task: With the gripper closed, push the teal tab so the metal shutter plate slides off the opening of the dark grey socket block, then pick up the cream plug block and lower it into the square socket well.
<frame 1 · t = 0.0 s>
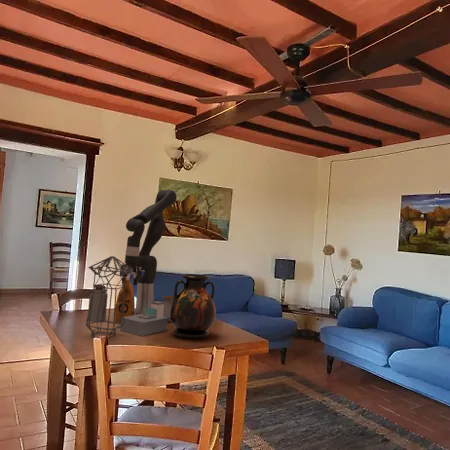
hand: (129, 284, 223), 17 cm above the table, tool pointing down, fingers open, 8 cm apart
socket: (145, 329, 192), on the table
geometric lantern: (105, 336, 176), on the table
coffee pot: (176, 321, 218), on the table
coffee package: (123, 321, 207), on the table
amphora vase: (191, 335, 187), on the table
plug: (156, 323, 207), on the table
perfume bottle: (96, 320, 204), on the table
shutter: (147, 312, 192), point 8 cm above the table, slide at 0.0 cm
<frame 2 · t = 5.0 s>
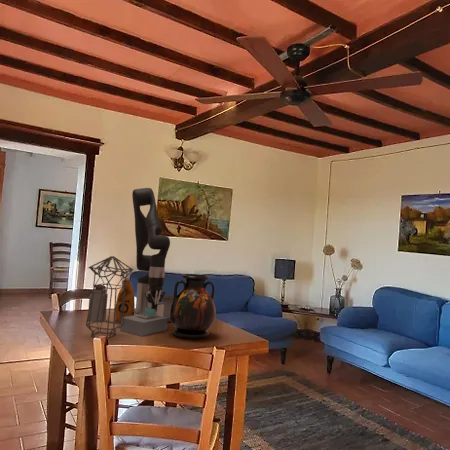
hand: (154, 311, 196), 8 cm above the table, tool pointing down, fingers closed
shutter: (146, 312, 192), point 8 cm above the table, slide at 0.4 cm, touching gripper
everything else where it was.
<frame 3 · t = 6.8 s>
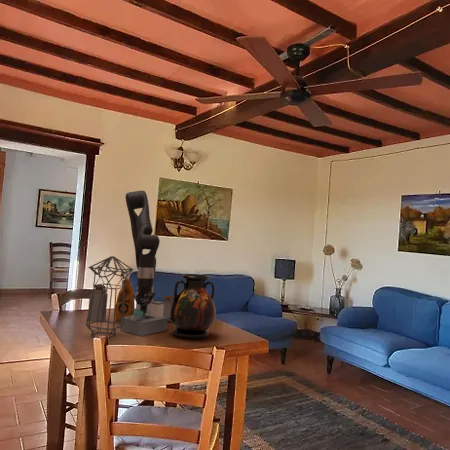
hand: (143, 313, 189), 8 cm above the table, tool pointing down, fingers closed
shutter: (135, 314, 185), point 8 cm above the table, slide at 8.0 cm, touching gripper
everything else where it was.
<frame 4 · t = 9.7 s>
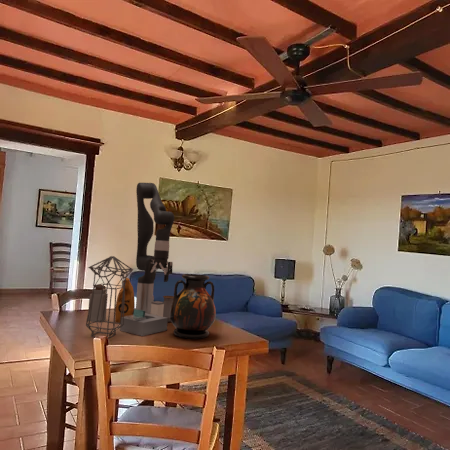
hand: (159, 280, 208), 22 cm above the table, tool pointing down, fingers open, 8 cm apart
shutter: (135, 314, 185), point 8 cm above the table, slide at 8.0 cm
everything else where it was.
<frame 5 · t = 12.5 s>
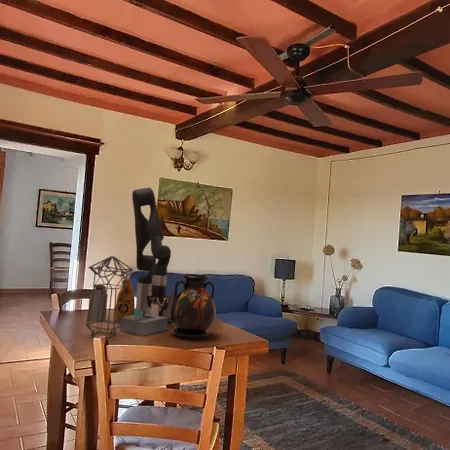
hand: (156, 317, 207), 3 cm above the table, tool pointing down, fingers closed on plug, 4 cm apart
plug: (156, 323, 207), on the table, touching gripper
everything else where it was.
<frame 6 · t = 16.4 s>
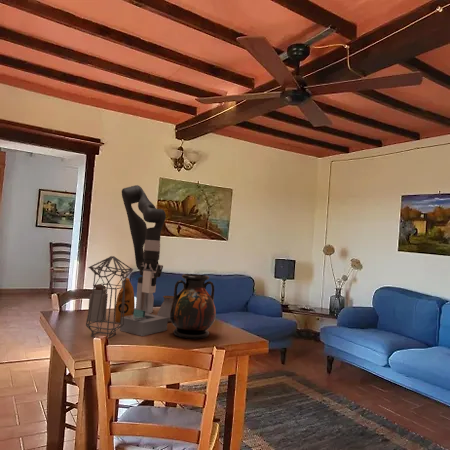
hand: (149, 285, 193), 21 cm above the table, tool pointing down, fingers closed on plug, 4 cm apart
plug: (148, 292, 192), point 18 cm above the table, touching gripper
everything else where it was.
when the fingers open (7 cm above the table, at t = 20.3 s): plug drops 1 cm, resting on socket.
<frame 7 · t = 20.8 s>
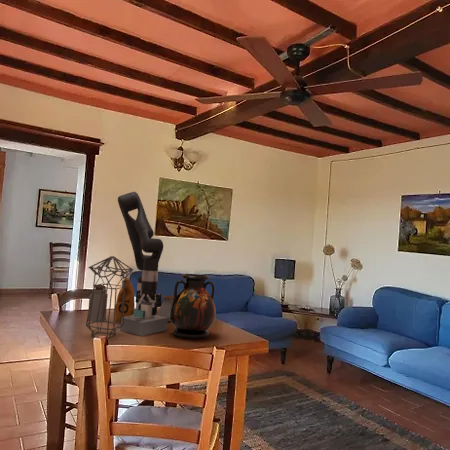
hand: (147, 313, 192), 8 cm above the table, tool pointing down, fingers open, 8 cm apart
plug: (146, 325, 192), point 2 cm above the table, touching socket
everything else where it was.
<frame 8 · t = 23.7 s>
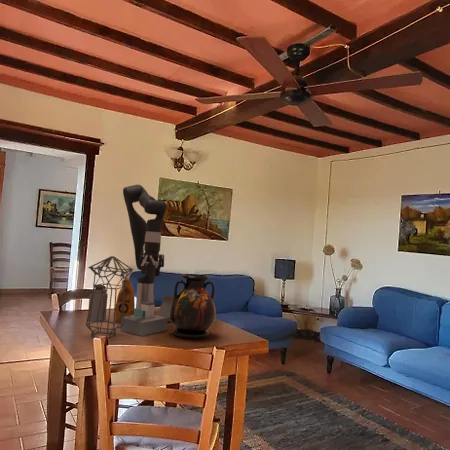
hand: (150, 275, 193), 26 cm above the table, tool pointing down, fingers open, 8 cm apart
nothing on the table moved.
at the end: shutter slide at 8.0 cm; plug 0.0 cm off-centre on the socket, point 2.0 cm above the socket's base; plug tilted 0° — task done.
